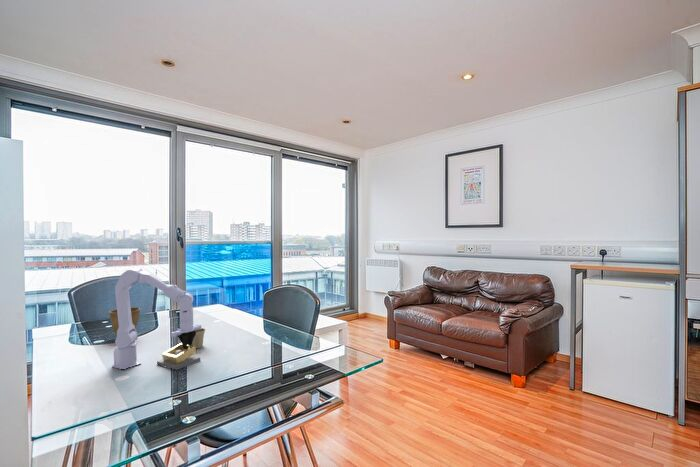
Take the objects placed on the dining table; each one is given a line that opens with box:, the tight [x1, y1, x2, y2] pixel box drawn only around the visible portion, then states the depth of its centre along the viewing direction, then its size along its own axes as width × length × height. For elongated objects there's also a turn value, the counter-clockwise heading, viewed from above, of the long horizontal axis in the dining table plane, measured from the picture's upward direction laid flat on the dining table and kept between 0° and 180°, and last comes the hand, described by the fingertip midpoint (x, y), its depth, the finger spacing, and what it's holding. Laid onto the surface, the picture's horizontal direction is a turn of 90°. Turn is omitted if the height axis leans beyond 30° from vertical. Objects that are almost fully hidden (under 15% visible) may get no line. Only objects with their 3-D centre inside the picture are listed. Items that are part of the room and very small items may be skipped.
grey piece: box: [156, 350, 201, 371], centre depth 159 cm, size 14×12×6 cm
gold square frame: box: [161, 342, 197, 364], centre depth 159 cm, size 10×10×4 cm
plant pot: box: [108, 306, 141, 337], centre depth 200 cm, size 15×15×16 cm
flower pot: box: [192, 327, 206, 349], centre depth 180 cm, size 9×9×9 cm
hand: (187, 348), depth 162 cm, fingers closed on gold square frame
